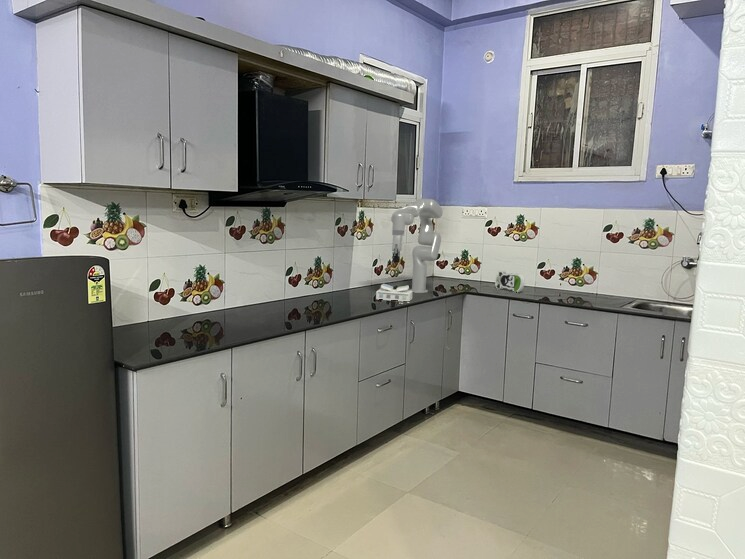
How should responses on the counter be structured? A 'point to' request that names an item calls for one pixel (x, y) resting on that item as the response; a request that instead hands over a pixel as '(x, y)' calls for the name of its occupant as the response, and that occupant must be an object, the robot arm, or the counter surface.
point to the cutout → (509, 281)
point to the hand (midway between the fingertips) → (396, 262)
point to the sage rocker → (403, 288)
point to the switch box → (394, 295)
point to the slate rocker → (387, 287)
